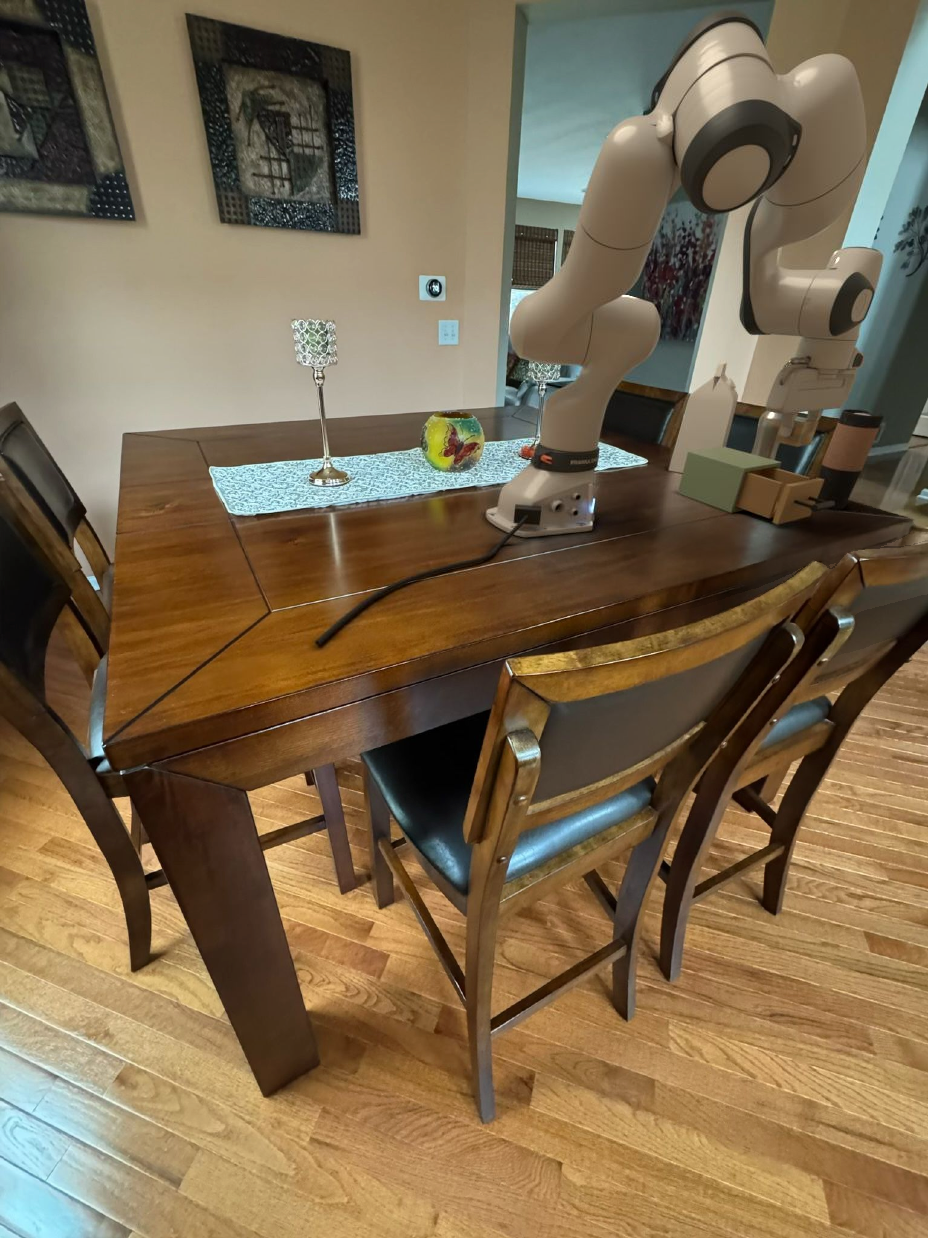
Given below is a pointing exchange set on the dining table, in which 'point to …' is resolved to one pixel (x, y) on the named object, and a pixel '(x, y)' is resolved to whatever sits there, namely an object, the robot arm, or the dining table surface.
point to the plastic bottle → (767, 435)
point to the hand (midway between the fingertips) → (795, 434)
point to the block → (799, 432)
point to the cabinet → (719, 475)
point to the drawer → (781, 495)
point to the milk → (706, 418)
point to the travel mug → (847, 455)
